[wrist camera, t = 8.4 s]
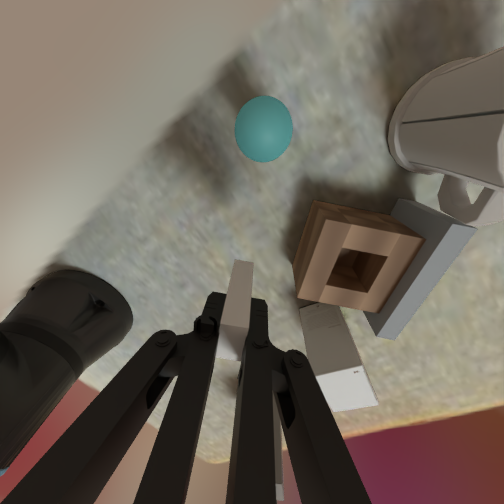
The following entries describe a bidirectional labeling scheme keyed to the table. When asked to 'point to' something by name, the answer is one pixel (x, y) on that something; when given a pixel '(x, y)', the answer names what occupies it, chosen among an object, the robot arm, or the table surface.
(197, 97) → the table surface
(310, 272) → the block
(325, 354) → the small box
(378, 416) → the table surface
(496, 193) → the cup
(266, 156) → the dowel
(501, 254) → the table surface
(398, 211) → the wall
